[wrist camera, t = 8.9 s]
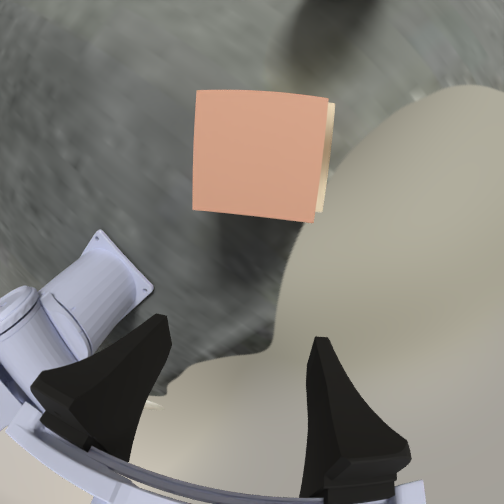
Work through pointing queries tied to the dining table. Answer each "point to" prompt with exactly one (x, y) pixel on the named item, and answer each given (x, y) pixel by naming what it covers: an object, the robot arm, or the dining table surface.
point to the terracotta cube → (258, 153)
